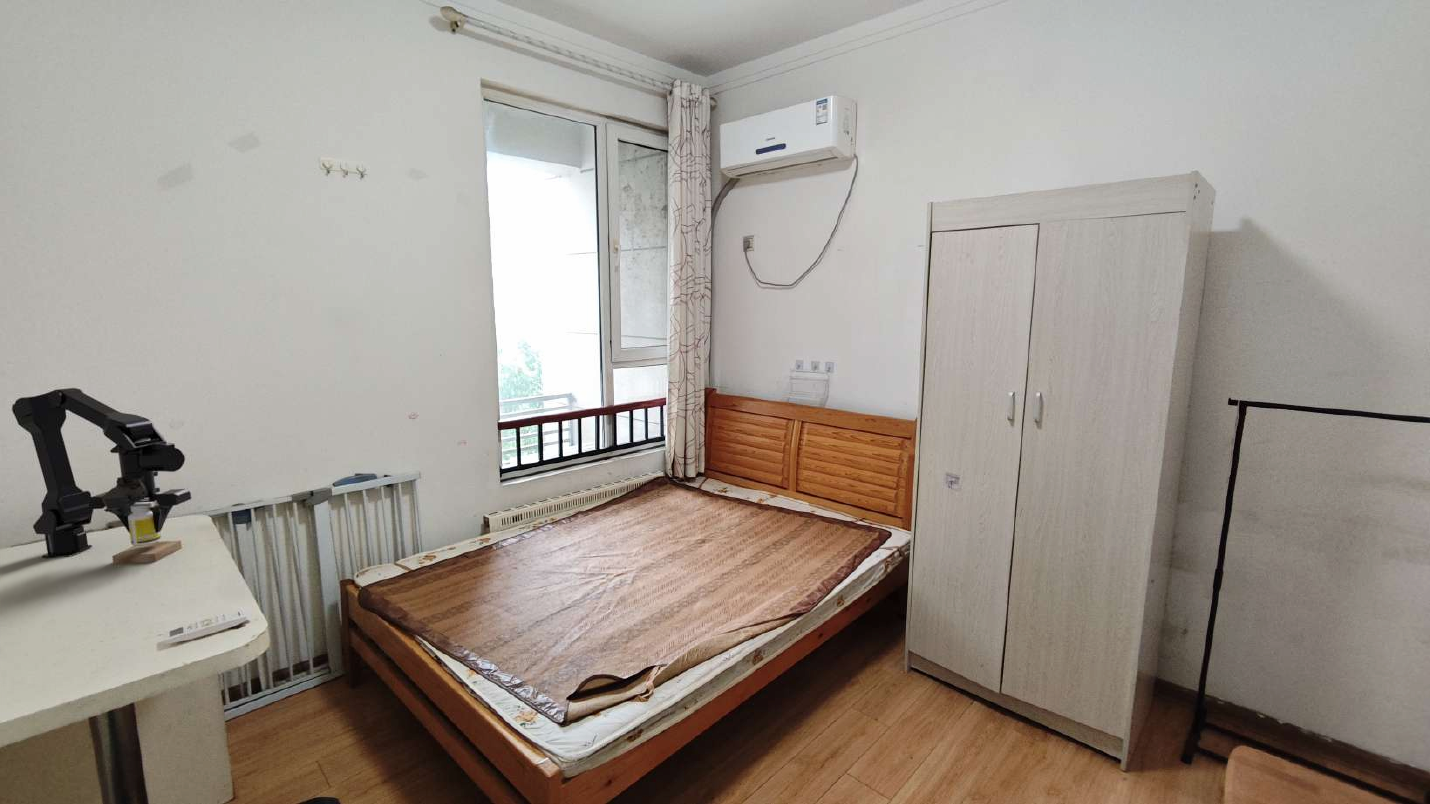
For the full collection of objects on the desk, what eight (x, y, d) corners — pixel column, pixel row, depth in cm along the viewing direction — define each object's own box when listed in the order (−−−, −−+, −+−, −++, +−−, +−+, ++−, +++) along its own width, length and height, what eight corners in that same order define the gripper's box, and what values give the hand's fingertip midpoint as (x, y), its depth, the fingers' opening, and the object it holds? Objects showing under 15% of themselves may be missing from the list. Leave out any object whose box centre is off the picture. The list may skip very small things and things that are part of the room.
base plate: (113, 564, 147) (112, 556, 147) (141, 550, 156) (140, 542, 156) (155, 561, 148) (154, 553, 148) (181, 548, 157) (180, 540, 157)
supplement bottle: (167, 539, 154) (162, 501, 153) (145, 547, 149) (140, 507, 147) (147, 538, 155) (142, 500, 153) (125, 546, 149) (119, 507, 148)
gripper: (63, 480, 140) (73, 546, 142) (156, 477, 143) (164, 542, 145) (103, 469, 151) (112, 530, 153) (189, 466, 154) (196, 526, 156)
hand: (145, 532), depth 151 cm, fingers closed on supplement bottle, 5 cm apart
